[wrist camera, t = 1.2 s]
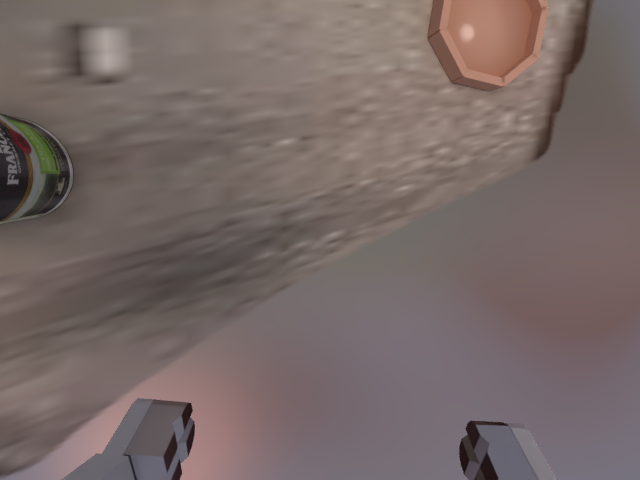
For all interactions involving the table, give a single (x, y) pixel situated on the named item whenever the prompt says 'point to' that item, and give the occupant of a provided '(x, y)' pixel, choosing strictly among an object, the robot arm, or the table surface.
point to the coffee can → (31, 170)
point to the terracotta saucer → (487, 39)
